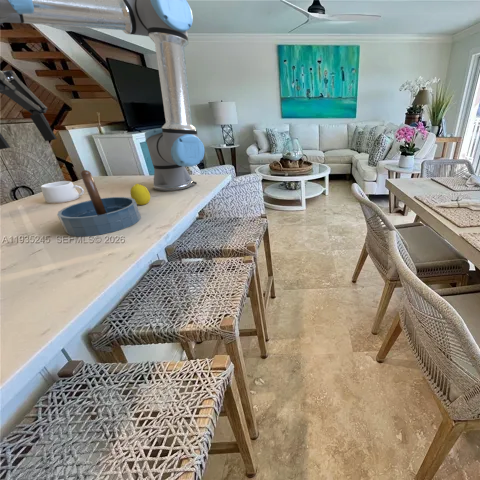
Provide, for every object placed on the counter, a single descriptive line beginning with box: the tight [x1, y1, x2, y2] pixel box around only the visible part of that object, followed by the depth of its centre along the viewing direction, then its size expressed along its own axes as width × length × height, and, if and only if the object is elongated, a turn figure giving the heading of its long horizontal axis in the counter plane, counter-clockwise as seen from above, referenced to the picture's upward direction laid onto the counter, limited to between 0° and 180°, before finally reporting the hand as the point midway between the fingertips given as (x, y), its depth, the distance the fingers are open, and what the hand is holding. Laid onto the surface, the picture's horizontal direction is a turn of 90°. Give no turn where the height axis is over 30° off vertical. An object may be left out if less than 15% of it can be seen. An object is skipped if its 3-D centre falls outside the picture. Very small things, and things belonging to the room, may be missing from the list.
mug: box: [40, 180, 85, 204], centre depth 98 cm, size 12×10×6 cm
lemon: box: [129, 183, 151, 206], centre depth 91 cm, size 6×6×8 cm
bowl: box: [56, 196, 142, 237], centre depth 76 cm, size 18×18×6 cm
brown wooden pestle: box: [79, 169, 106, 215], centre depth 74 cm, size 6×6×15 cm
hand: (29, 144), depth 67 cm, fingers open, 13 cm apart
